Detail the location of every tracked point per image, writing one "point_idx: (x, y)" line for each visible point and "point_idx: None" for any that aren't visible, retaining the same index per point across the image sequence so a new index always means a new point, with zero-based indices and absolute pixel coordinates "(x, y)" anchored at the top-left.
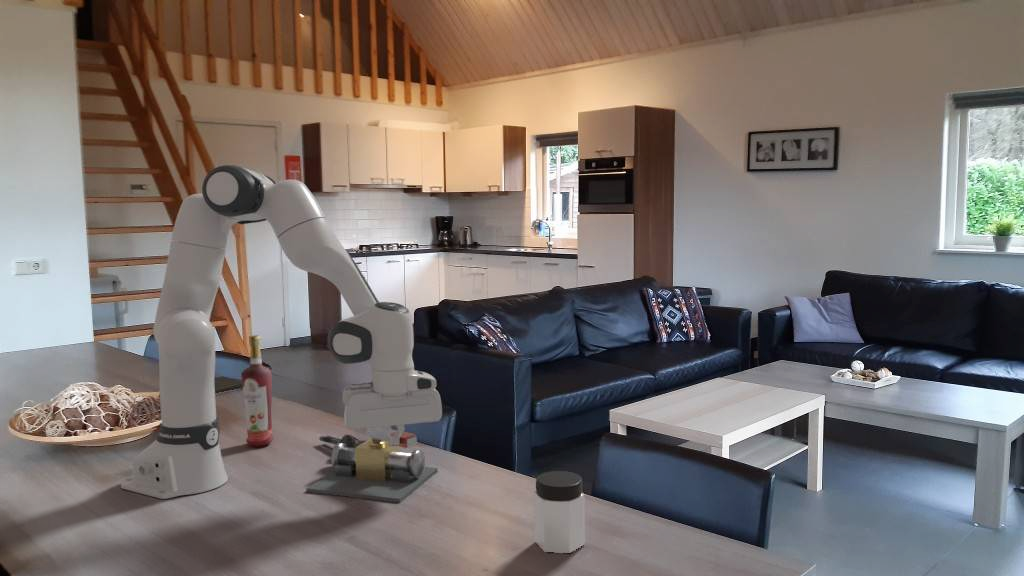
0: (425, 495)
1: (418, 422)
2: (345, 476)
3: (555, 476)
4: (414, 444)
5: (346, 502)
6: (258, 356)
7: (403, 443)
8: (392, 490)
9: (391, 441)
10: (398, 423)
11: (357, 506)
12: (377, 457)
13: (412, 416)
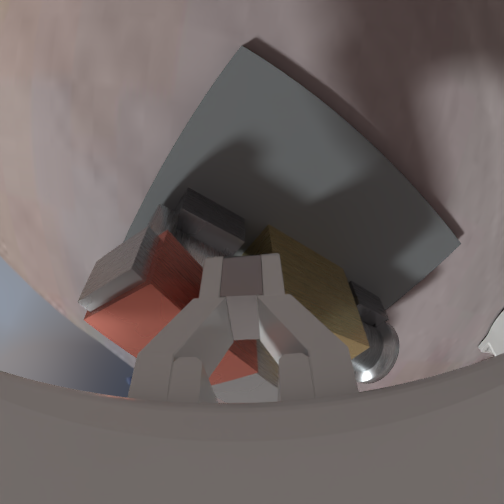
0: (141, 92)
1: (3, 375)
2: (362, 288)
3: None
4: (106, 255)
5: (410, 126)
6: None
7: (174, 263)
8: (257, 137)
9: (269, 274)
10: (188, 421)
11: (389, 77)
12: (300, 295)
13: (19, 451)
